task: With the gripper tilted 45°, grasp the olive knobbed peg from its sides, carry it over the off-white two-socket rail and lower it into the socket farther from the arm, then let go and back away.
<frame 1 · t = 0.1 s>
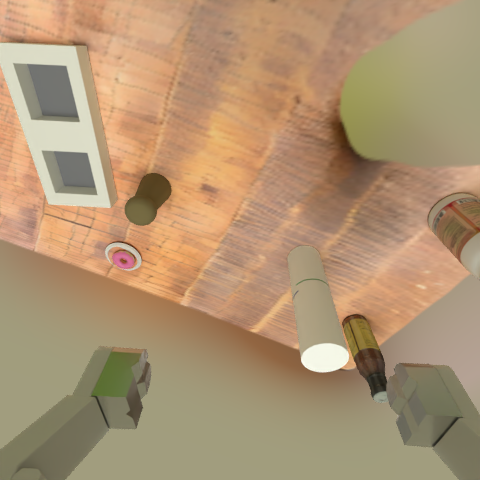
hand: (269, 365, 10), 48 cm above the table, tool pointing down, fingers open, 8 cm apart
olive knobbed peg: (156, 187, 59), on the table
sauce bottle: (354, 321, 78), on the table
cylindrical container: (303, 258, 67), on the table
fruit juice: (451, 213, 60), on the table
donut: (125, 249, 69), on the table
socket rail: (70, 131, 54), on the table
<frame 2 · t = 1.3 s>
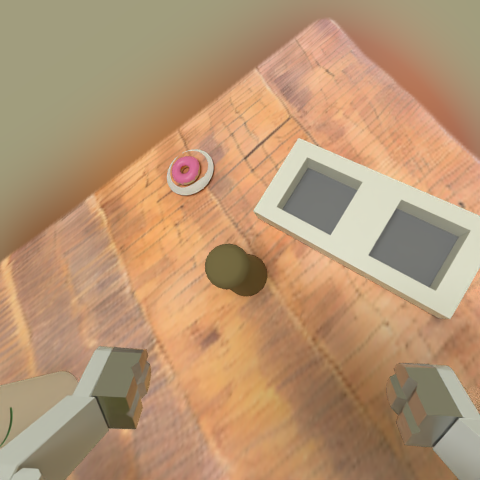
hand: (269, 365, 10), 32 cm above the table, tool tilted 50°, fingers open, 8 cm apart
olive knobbed peg: (246, 275, 44), on the table
cylindrical container: (61, 395, 47), on the table
donut: (197, 179, 50), on the table
socket rail: (361, 225, 41), on the table
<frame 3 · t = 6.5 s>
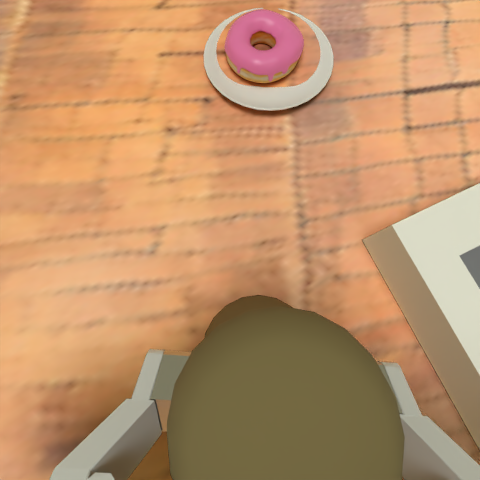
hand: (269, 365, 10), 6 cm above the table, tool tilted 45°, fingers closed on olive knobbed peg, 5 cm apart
olive knobbed peg: (258, 352, 16), on the table, touching gripper
donut: (271, 86, 20), on the table
when the fingers open (8 cm above the table, at t = 12.1 s): olive knobbed peg drops 1 cm, resting on socket rail.
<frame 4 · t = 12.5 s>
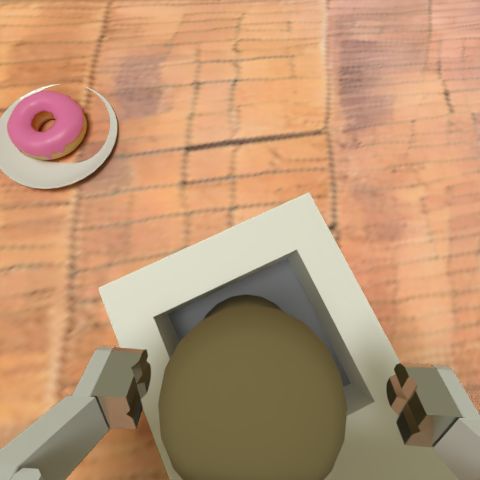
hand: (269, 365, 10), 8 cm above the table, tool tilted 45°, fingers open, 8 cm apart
olive knobbed peg: (246, 346, 18), resting on socket rail
donut: (66, 159, 21), on the table
socket rail: (307, 457, 17), on the table
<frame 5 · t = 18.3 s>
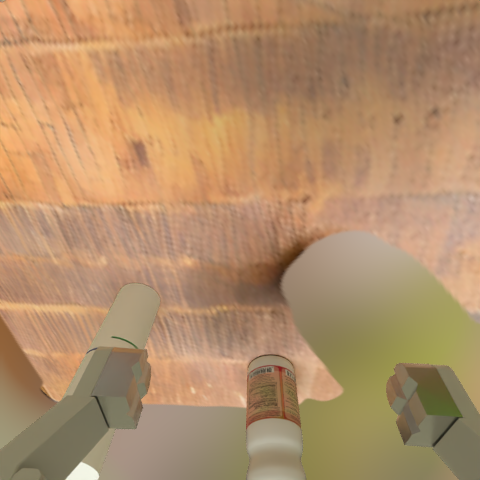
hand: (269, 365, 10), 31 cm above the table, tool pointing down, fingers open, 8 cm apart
cylindrical container: (140, 297, 53), on the table
fruit juice: (270, 367, 62), on the table
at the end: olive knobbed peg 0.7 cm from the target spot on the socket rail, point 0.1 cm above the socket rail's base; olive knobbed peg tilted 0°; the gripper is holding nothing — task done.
